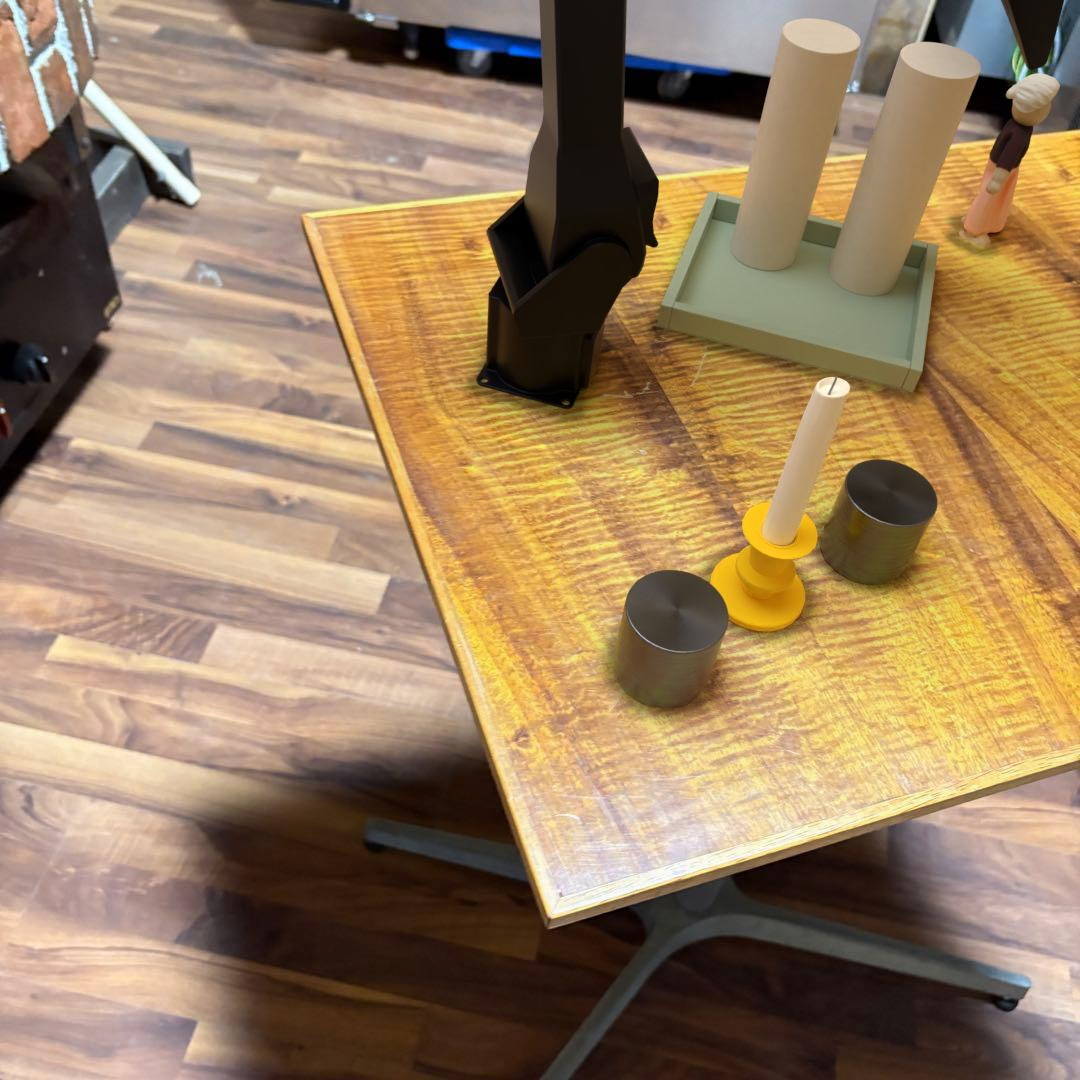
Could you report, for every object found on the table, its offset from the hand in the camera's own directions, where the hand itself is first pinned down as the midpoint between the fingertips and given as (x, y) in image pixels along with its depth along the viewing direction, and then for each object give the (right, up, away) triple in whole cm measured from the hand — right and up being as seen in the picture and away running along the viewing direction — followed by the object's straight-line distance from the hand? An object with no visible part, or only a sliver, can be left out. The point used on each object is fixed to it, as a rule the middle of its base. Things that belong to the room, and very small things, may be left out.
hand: (1076, 103), depth 60 cm
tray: (-13, -8, +14) cm, 21 cm away
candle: (-20, -29, -4) cm, 35 cm away
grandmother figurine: (+3, -1, +22) cm, 22 cm away
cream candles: (-11, -5, +16) cm, 20 cm away
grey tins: (-20, -29, -4) cm, 35 cm away
